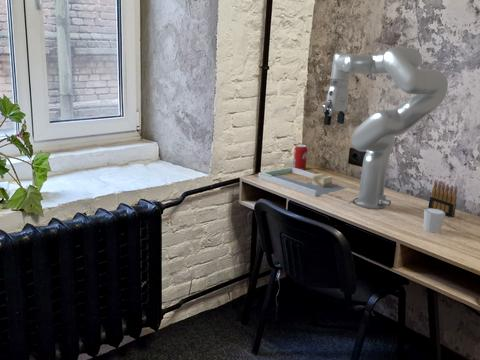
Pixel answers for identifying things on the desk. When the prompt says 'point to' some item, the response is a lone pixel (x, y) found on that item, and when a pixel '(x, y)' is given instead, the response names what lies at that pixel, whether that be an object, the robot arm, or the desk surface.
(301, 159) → the beverage can
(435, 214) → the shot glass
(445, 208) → the ammunition clip
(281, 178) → the box
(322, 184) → the wooden block
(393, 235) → the desk surface
